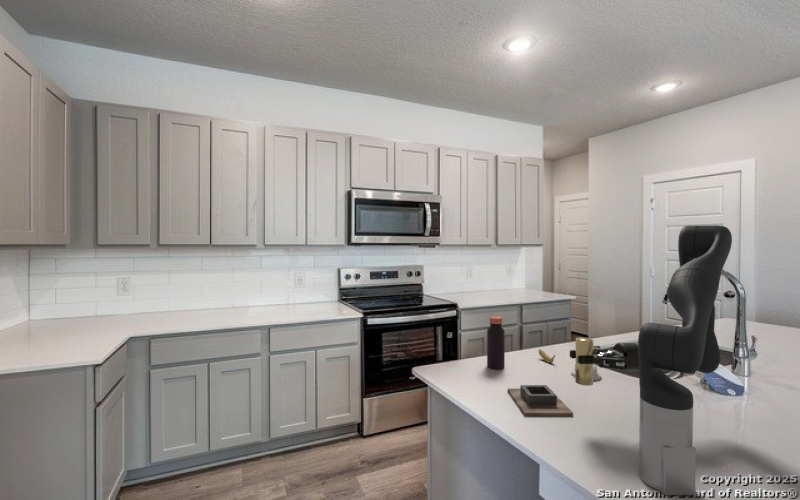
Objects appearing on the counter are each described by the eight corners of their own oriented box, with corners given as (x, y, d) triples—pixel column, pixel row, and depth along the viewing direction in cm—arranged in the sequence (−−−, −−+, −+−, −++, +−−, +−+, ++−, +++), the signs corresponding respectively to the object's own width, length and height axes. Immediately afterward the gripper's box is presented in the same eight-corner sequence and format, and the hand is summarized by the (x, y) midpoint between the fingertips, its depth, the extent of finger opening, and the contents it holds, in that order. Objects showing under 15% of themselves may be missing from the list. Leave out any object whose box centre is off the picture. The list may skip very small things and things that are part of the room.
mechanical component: (574, 380, 140) (604, 382, 138) (575, 368, 140) (604, 370, 138) (568, 371, 149) (596, 372, 147) (568, 359, 149) (596, 361, 147)
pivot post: (596, 385, 104) (596, 341, 103) (579, 385, 104) (580, 341, 104) (588, 379, 108) (588, 337, 108) (572, 379, 108) (572, 337, 108)
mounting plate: (573, 416, 111) (573, 402, 111) (524, 416, 111) (524, 402, 111) (549, 391, 129) (549, 379, 129) (507, 391, 129) (507, 379, 129)
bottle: (486, 368, 152) (486, 318, 151) (487, 363, 158) (487, 315, 158) (504, 370, 150) (504, 319, 149) (504, 365, 156) (504, 316, 156)
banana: (536, 358, 165) (536, 348, 165) (541, 357, 166) (541, 348, 166) (551, 365, 156) (551, 355, 156) (556, 364, 156) (556, 355, 156)
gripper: (621, 336, 113) (563, 336, 113) (653, 350, 98) (586, 350, 99) (621, 361, 113) (563, 362, 113) (653, 379, 99) (586, 379, 99)
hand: (574, 356), depth 106 cm, fingers closed on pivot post, 4 cm apart
